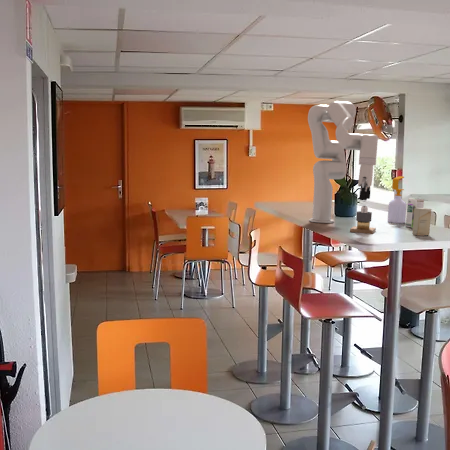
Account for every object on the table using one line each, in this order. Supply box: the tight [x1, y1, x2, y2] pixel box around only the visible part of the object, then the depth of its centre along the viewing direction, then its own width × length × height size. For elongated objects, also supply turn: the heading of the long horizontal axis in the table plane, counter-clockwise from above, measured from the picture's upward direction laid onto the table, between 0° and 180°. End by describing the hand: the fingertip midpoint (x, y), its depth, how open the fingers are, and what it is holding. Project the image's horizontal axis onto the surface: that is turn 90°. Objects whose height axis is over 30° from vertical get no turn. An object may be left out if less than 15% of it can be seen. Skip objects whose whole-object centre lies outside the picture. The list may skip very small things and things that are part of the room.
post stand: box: [349, 205, 376, 235], centre depth 256 cm, size 10×10×12 cm
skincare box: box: [411, 207, 432, 237], centre depth 251 cm, size 6×4×12 cm
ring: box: [355, 210, 373, 223], centre depth 256 cm, size 6×6×4 cm
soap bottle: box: [387, 175, 407, 224], centre depth 297 cm, size 9×9×25 cm
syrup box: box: [405, 197, 425, 229], centre depth 278 cm, size 6×6×14 cm
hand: (364, 199), depth 255 cm, fingers open, 9 cm apart
